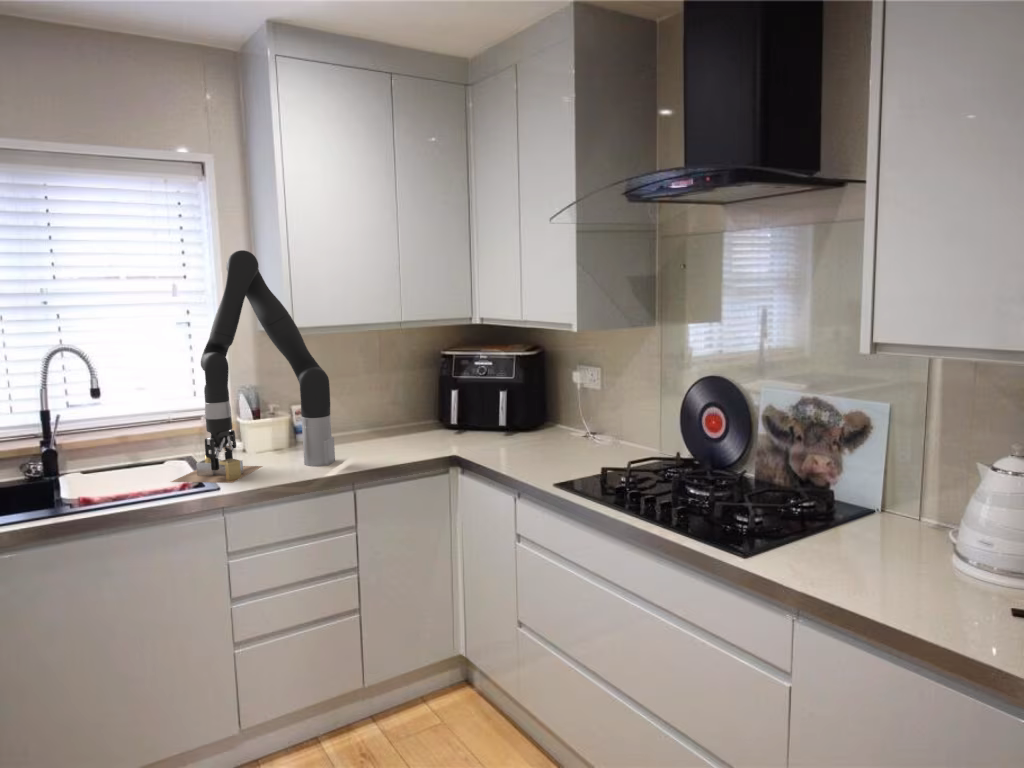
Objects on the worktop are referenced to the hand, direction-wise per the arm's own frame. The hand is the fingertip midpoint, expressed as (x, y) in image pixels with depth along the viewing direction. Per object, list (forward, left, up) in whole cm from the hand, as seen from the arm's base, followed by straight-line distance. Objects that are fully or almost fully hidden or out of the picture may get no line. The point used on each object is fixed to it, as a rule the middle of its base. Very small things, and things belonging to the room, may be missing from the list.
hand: (222, 466), depth 228 cm
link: (+1, 0, -2) cm, 2 cm away
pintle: (+5, 0, -2) cm, 5 cm away
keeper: (-5, +5, -2) cm, 8 cm away
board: (+2, 0, -4) cm, 4 cm away
